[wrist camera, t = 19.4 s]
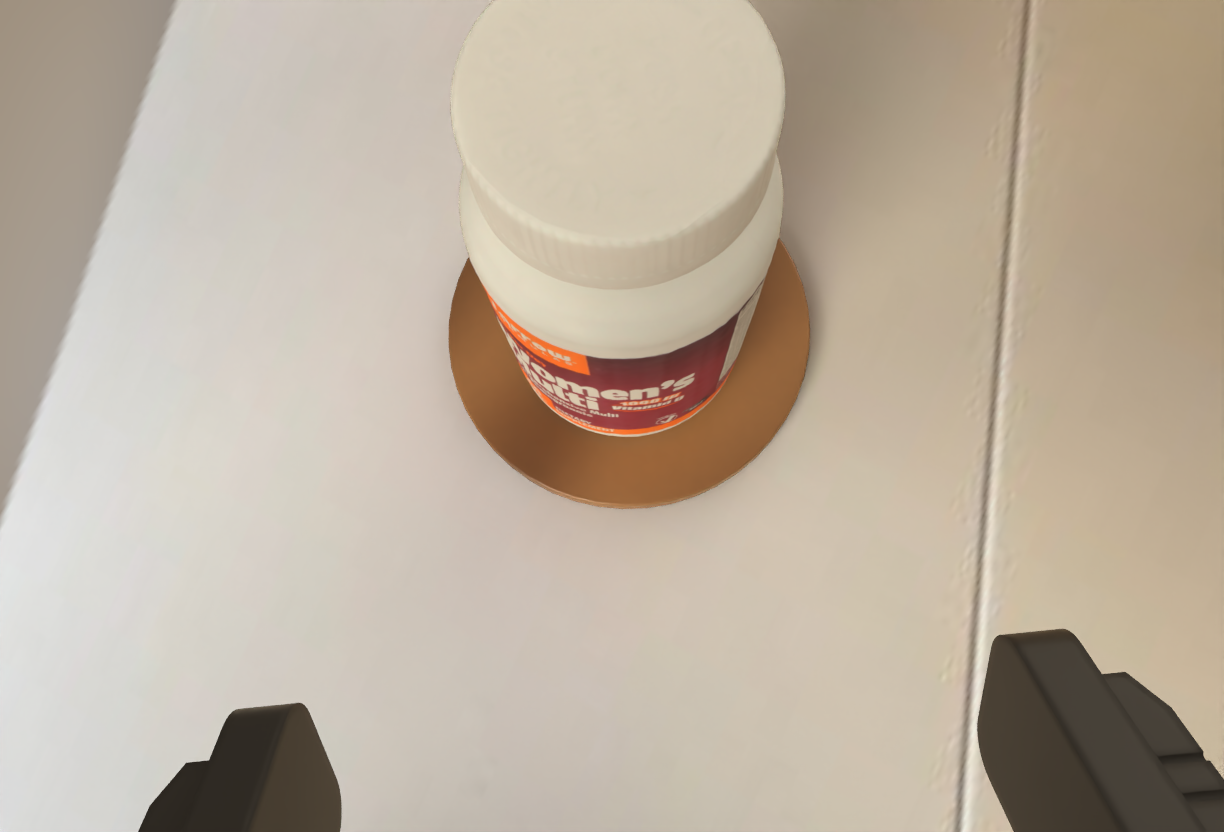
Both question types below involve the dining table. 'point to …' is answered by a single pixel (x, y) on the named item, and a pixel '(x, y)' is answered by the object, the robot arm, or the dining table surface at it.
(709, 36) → the pill bottle
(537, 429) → the coaster
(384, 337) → the dining table surface
